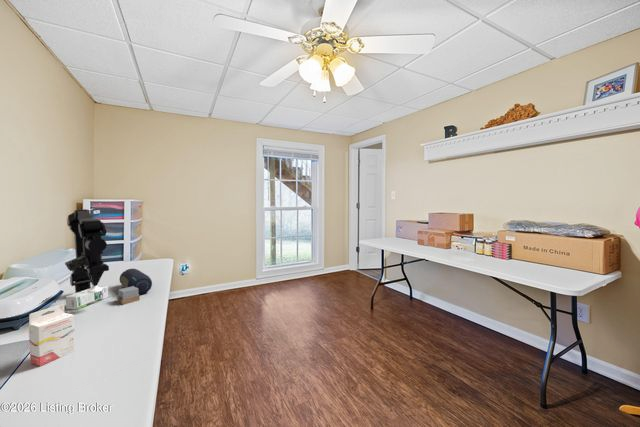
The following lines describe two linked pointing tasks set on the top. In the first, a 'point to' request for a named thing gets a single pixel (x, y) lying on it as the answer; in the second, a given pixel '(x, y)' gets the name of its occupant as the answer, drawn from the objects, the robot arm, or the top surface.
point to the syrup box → (85, 298)
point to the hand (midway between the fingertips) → (94, 285)
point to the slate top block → (128, 292)
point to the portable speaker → (136, 280)
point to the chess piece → (94, 289)
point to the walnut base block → (128, 299)
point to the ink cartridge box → (50, 335)
